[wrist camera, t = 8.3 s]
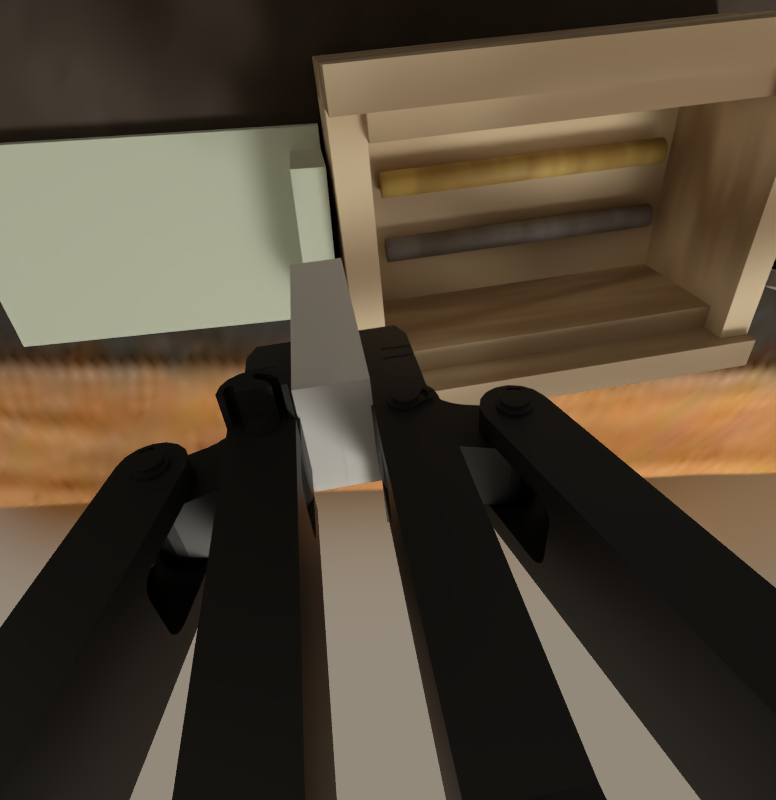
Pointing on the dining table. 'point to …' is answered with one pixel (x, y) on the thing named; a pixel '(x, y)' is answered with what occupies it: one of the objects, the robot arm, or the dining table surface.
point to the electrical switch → (771, 279)
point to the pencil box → (559, 199)
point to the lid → (158, 230)
